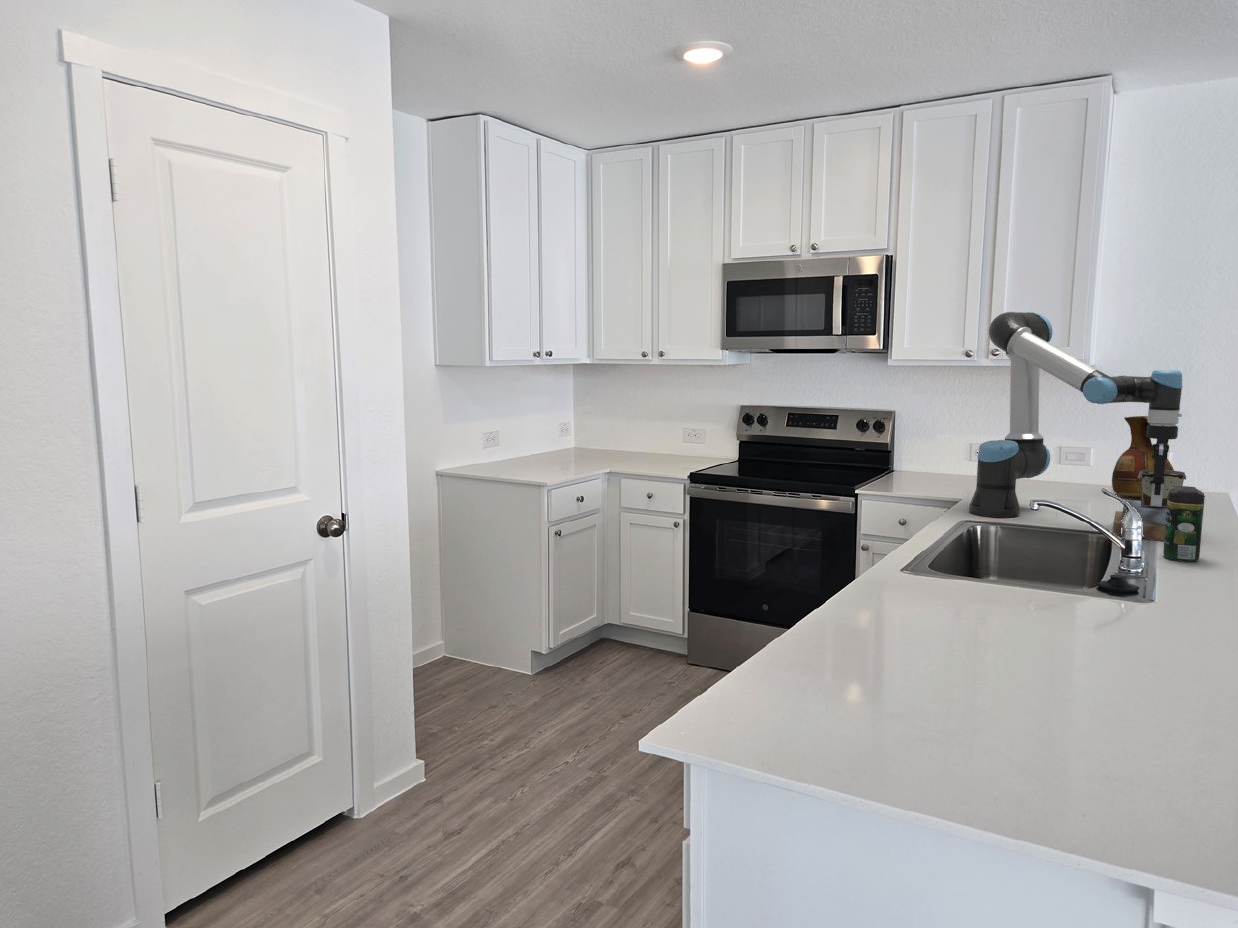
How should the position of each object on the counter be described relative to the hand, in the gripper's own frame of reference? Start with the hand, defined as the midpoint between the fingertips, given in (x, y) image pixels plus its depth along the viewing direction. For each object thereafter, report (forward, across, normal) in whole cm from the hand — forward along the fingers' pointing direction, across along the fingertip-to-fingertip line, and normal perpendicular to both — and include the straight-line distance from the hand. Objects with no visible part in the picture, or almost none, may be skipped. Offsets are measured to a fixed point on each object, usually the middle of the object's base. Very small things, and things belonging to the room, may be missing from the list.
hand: (1155, 503), depth 249 cm
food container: (+1, +1, 0) cm, 1 cm away
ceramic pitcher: (+9, +67, +3) cm, 68 cm away
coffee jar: (+9, -30, -6) cm, 32 cm away
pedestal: (+9, 0, 0) cm, 9 cm away
